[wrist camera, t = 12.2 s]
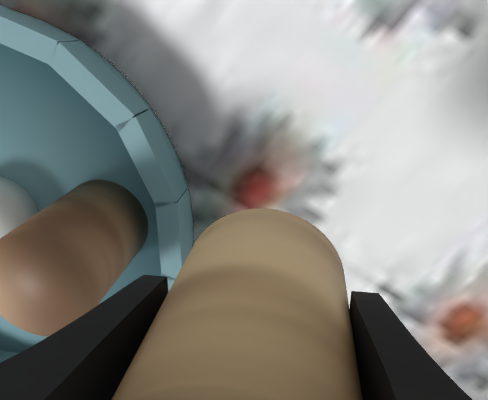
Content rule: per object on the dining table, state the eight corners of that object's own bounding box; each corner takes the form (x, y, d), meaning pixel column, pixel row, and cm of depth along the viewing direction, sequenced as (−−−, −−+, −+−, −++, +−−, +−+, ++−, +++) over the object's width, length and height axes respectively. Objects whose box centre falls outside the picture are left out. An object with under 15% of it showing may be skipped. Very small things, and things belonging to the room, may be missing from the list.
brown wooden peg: (71, 257, 23) (-6, 331, 17) (57, 178, 21) (-33, 231, 15) (152, 262, 22) (99, 341, 16) (143, 181, 20) (82, 238, 15)
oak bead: (337, 351, 12) (360, 608, 7) (189, 337, 13) (102, 565, 8) (351, 213, 11) (398, 405, 5) (182, 203, 11) (65, 367, 6)
